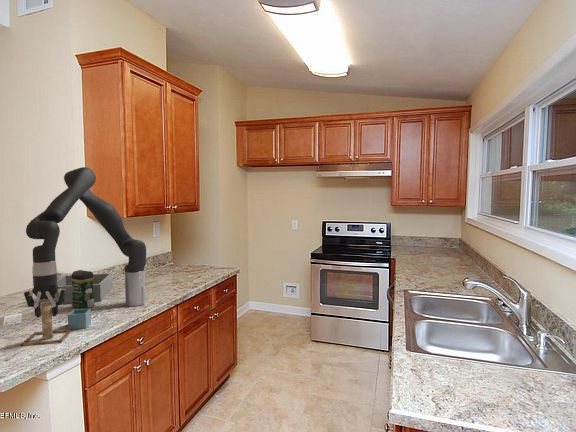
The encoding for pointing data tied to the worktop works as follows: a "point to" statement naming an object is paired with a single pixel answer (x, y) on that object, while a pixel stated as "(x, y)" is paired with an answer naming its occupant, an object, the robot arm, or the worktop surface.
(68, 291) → the grey open bin
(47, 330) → the dowel
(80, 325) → the blue open box
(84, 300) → the coffee jar
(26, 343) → the tray
